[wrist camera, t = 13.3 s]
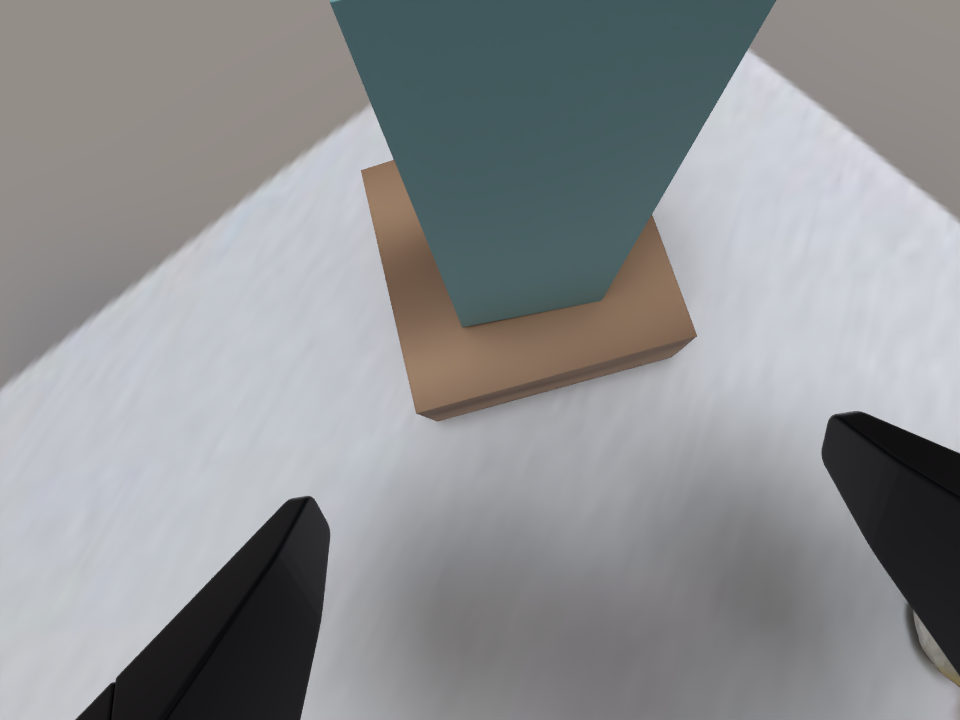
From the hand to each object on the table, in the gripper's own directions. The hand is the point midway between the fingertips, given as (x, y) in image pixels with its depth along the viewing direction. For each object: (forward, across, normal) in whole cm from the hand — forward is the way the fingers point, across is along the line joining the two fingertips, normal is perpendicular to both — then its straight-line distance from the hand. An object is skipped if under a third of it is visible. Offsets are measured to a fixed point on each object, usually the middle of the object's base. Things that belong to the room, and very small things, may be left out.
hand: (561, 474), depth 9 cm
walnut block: (+14, 0, +3) cm, 15 cm away
